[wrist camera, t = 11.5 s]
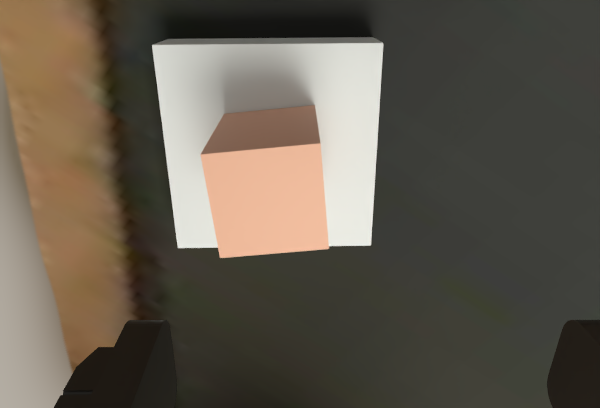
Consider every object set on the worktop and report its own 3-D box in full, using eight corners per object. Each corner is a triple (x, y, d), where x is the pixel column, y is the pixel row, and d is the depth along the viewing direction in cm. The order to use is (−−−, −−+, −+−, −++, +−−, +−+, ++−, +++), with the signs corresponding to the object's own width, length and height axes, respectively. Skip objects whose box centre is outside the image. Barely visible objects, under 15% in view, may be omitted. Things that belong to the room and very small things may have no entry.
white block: (170, 38, 28) (151, 44, 25) (371, 36, 28) (383, 42, 25) (190, 219, 33) (177, 247, 29) (362, 217, 33) (370, 245, 30)
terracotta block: (224, 113, 26) (200, 154, 20) (315, 105, 26) (320, 143, 20) (237, 196, 28) (220, 257, 22) (321, 189, 28) (329, 248, 22)
